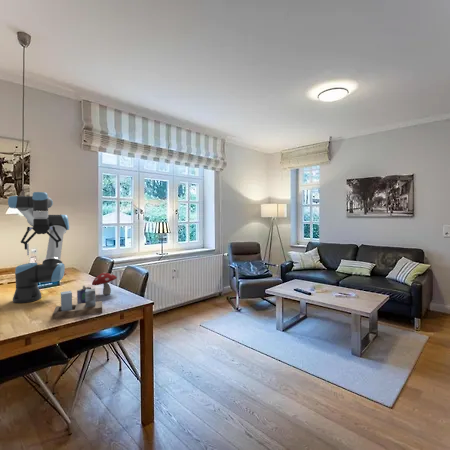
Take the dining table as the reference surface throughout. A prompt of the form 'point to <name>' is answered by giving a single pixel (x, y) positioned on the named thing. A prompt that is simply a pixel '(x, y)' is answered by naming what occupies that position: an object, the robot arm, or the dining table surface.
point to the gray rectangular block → (66, 301)
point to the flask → (81, 295)
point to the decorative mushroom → (104, 281)
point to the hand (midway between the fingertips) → (42, 254)
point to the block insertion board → (81, 307)
